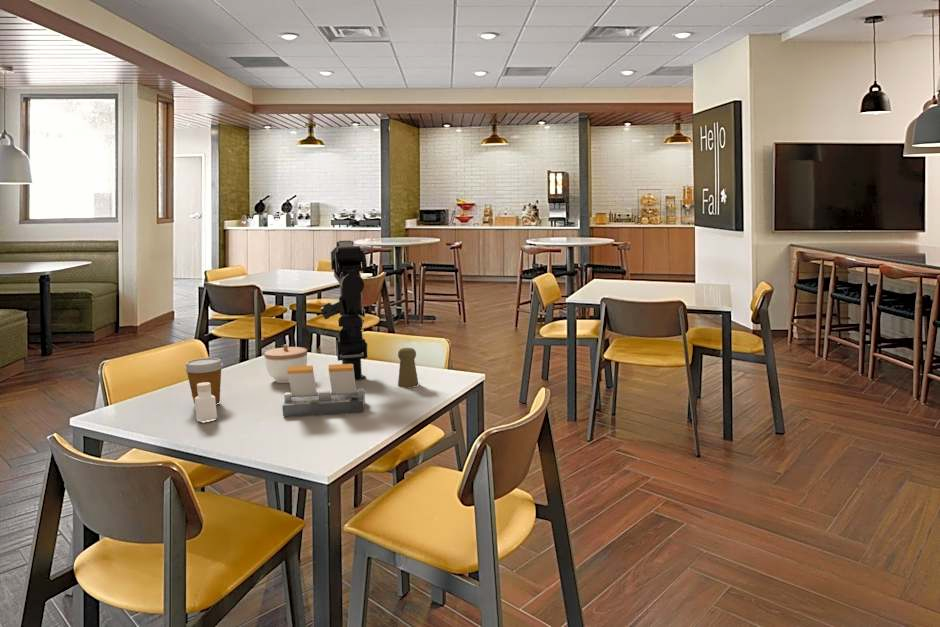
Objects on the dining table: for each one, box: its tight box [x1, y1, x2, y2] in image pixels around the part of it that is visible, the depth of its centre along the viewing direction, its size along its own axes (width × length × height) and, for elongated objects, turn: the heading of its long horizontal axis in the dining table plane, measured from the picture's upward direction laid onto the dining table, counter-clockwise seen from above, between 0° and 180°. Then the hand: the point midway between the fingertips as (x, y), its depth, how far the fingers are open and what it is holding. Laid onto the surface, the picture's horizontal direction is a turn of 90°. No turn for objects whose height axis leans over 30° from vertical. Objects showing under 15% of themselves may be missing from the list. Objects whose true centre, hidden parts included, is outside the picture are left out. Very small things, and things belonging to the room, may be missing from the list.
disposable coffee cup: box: [184, 357, 224, 405], centre depth 180 cm, size 10×10×12 cm
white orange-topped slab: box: [287, 365, 319, 397], centre depth 169 cm, size 1×7×10 cm
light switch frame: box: [282, 388, 366, 417], centre depth 173 cm, size 9×20×5 cm, turn 96°
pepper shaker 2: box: [194, 382, 218, 421], centre depth 166 cm, size 4×4×10 cm
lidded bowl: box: [264, 344, 308, 384], centre depth 204 cm, size 13×13×11 cm
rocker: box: [328, 363, 358, 395], centre depth 170 cm, size 1×7×10 cm
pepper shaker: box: [397, 347, 419, 388], centre depth 195 cm, size 6×6×11 cm
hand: (353, 346), depth 188 cm, fingers closed
